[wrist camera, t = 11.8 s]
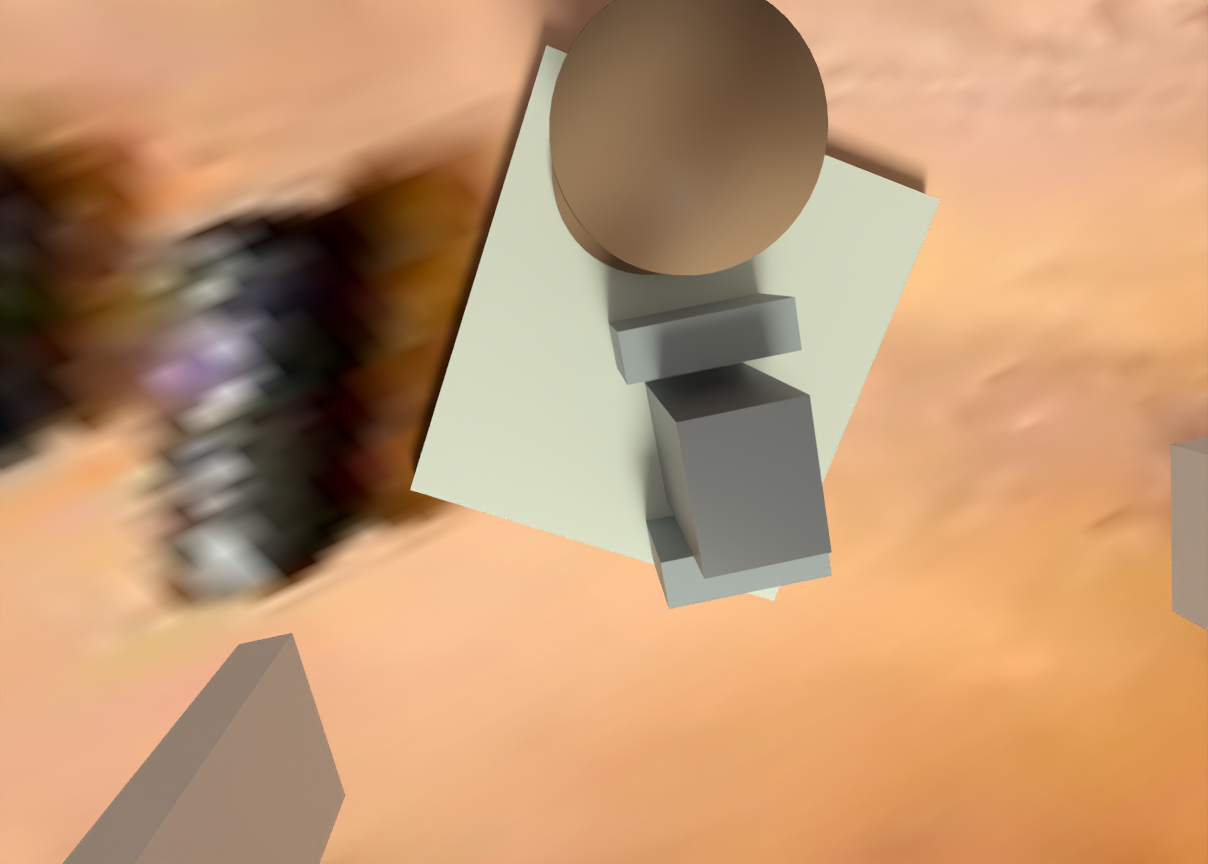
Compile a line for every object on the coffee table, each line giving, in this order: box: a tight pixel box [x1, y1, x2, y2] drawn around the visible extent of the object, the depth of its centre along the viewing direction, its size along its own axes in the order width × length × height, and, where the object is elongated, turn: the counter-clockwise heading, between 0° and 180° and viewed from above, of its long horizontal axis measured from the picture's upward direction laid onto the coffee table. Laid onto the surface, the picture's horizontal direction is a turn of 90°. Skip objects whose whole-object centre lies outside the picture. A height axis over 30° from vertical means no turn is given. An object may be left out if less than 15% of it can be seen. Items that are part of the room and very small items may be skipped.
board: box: [410, 45, 940, 601], centre depth 30 cm, size 16×18×1 cm
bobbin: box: [549, 0, 828, 275], centre depth 23 cm, size 7×7×9 cm
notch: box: [609, 293, 831, 609], centre depth 28 cm, size 6×10×4 cm, turn 11°
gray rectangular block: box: [645, 363, 831, 579], centre depth 26 cm, size 4×5×8 cm
